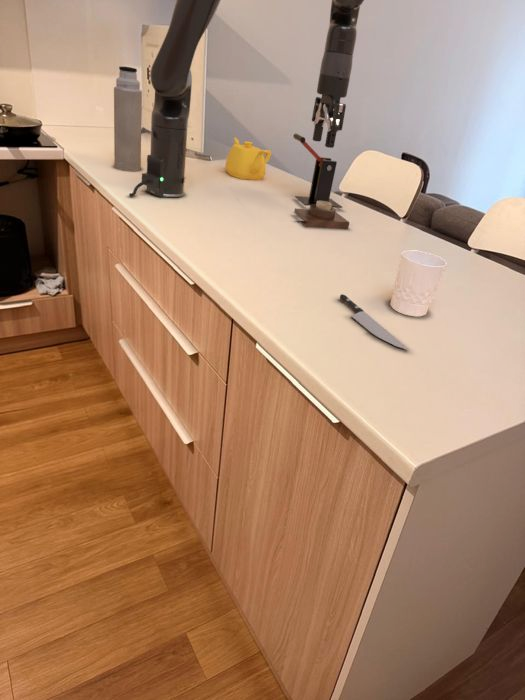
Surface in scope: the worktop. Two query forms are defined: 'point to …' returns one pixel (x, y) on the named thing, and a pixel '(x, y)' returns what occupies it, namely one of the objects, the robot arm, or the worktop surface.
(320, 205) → the button
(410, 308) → the white cup
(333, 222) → the button block
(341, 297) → the chef's knife
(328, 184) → the bracket
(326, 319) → the worktop surface
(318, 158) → the lever
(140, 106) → the thermos bottle
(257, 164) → the teapot
